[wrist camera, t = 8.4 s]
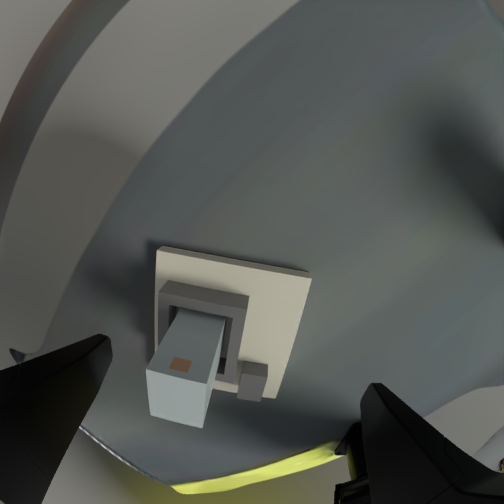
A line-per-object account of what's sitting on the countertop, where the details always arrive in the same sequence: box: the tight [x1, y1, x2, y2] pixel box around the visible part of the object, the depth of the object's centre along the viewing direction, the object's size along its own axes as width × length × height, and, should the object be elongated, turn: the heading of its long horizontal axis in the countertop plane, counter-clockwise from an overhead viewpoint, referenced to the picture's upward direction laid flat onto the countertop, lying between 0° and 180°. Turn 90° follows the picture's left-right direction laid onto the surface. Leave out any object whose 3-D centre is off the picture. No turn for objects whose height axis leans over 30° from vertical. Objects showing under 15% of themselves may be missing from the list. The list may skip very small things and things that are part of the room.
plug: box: [146, 307, 227, 428], centre depth 17 cm, size 4×3×8 cm
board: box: [155, 246, 312, 402], centre depth 21 cm, size 12×11×3 cm
